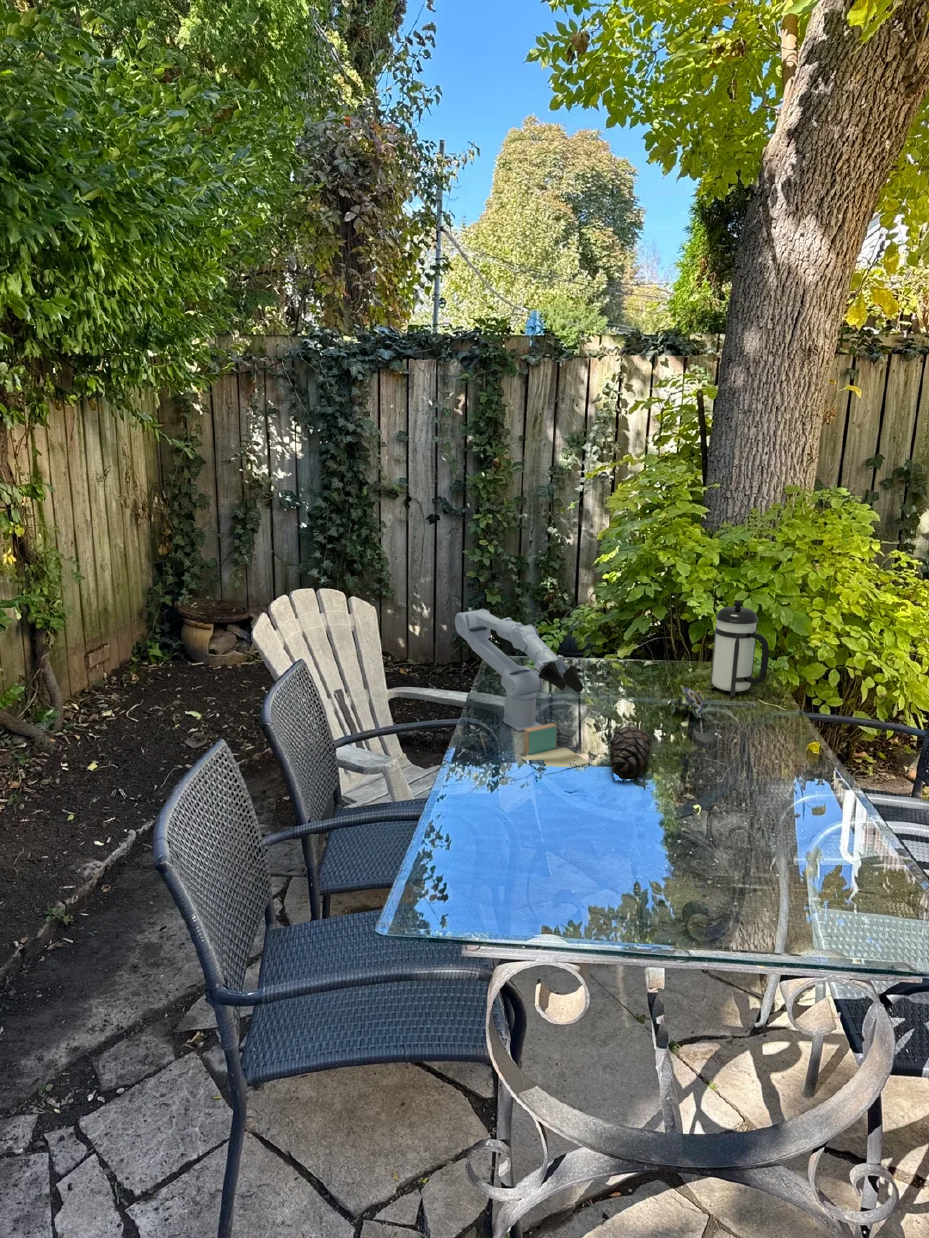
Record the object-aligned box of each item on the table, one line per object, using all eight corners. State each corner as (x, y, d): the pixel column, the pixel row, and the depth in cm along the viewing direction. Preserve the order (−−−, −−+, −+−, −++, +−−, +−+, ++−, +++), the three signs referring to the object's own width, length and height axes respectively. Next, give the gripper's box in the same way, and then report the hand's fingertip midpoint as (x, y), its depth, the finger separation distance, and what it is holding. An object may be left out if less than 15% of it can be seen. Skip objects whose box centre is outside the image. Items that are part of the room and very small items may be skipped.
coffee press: (706, 696, 252) (713, 605, 245) (706, 681, 267) (713, 594, 259) (764, 702, 247) (773, 609, 240) (761, 686, 262) (770, 597, 254)
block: (523, 753, 210) (524, 728, 208) (551, 747, 214) (552, 722, 212) (527, 756, 208) (528, 731, 206) (556, 750, 212) (557, 725, 210)
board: (520, 758, 206) (520, 757, 206) (564, 748, 213) (564, 746, 213) (544, 775, 197) (544, 773, 197) (589, 763, 203) (589, 762, 203)
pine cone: (607, 783, 193) (609, 745, 190) (609, 754, 210) (611, 718, 207) (651, 787, 191) (654, 749, 188) (649, 757, 208) (652, 721, 205)
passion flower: (696, 735, 235) (708, 713, 226) (659, 726, 237) (670, 704, 227) (698, 704, 242) (710, 682, 233) (663, 696, 244) (673, 673, 234)
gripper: (534, 641, 210) (565, 673, 202) (566, 648, 221) (596, 679, 212) (520, 661, 212) (549, 694, 204) (552, 668, 223) (581, 699, 214)
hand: (572, 688), depth 208 cm, fingers open, 7 cm apart
